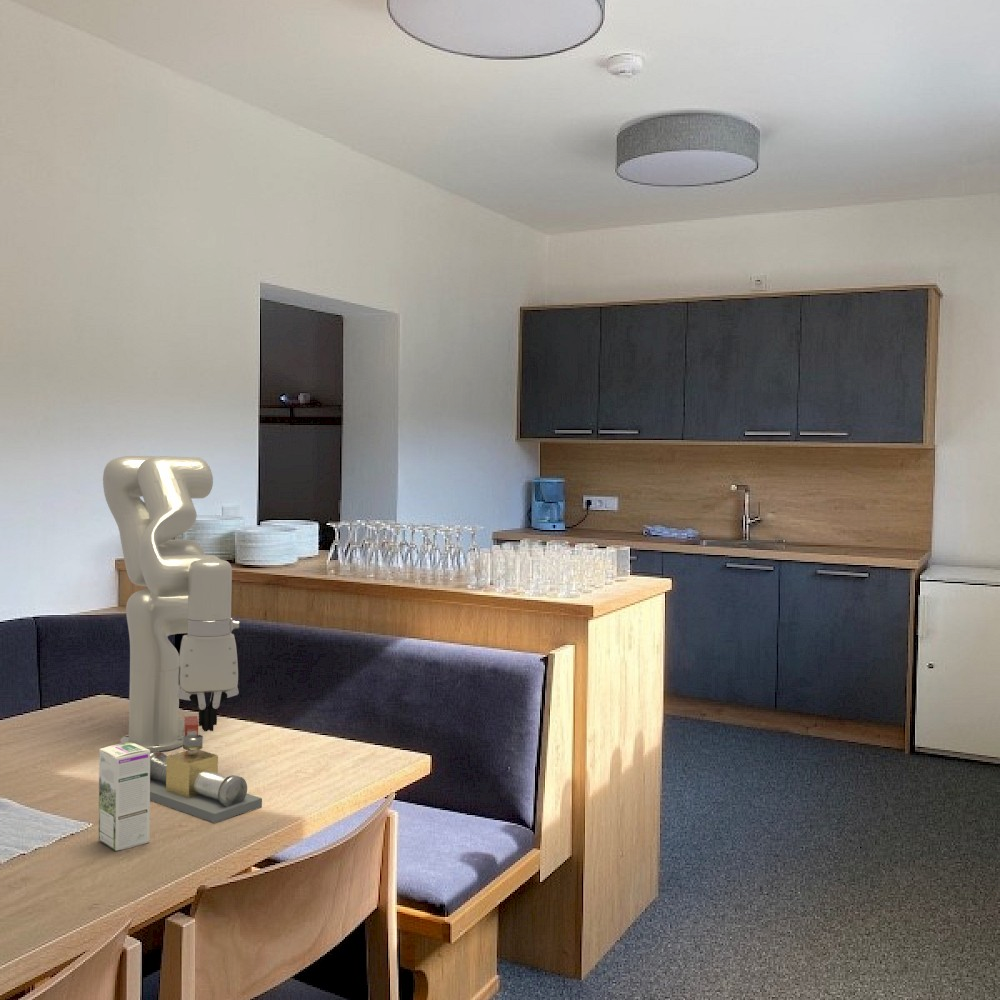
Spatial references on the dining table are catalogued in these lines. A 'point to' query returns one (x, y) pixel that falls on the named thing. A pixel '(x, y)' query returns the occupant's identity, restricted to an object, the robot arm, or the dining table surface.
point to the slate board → (201, 803)
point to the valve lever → (192, 736)
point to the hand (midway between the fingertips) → (207, 729)
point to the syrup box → (124, 795)
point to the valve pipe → (197, 777)
